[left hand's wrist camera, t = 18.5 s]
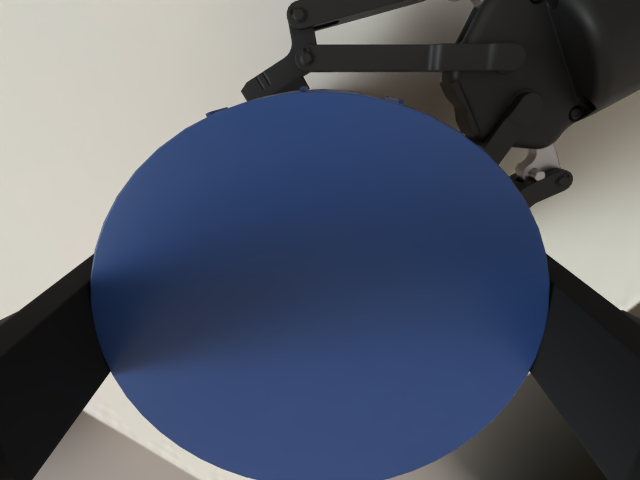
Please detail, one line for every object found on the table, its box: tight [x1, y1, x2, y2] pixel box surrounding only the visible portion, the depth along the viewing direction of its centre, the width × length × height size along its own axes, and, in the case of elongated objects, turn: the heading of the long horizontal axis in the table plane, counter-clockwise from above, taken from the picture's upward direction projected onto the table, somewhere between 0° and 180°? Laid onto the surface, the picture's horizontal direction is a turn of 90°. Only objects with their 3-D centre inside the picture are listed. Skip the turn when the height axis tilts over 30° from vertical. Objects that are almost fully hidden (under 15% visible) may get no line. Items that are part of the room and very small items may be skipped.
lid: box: [91, 86, 550, 480], centre depth 11 cm, size 11×11×2 cm
